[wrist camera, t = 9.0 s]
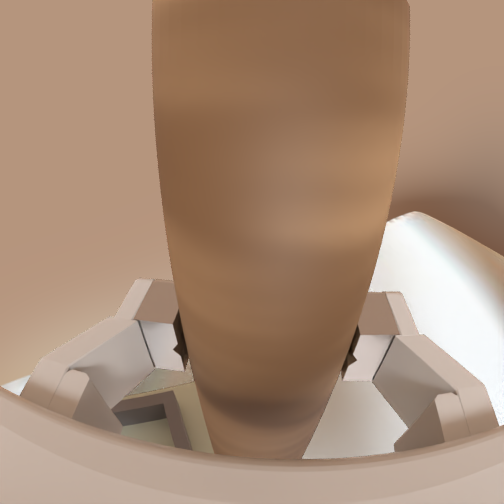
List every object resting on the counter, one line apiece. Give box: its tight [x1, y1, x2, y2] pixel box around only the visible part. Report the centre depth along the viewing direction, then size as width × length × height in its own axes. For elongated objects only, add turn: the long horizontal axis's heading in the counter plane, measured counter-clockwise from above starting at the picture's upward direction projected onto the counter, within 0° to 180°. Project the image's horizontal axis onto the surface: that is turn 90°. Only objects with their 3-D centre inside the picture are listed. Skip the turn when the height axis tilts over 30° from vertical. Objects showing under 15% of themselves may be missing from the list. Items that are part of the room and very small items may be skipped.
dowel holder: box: [111, 382, 214, 454], centre depth 18 cm, size 14×12×4 cm
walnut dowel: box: [152, 0, 410, 459], centre depth 8 cm, size 4×4×16 cm
